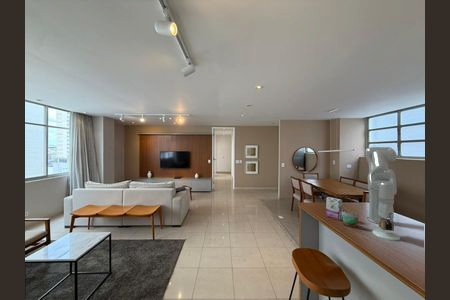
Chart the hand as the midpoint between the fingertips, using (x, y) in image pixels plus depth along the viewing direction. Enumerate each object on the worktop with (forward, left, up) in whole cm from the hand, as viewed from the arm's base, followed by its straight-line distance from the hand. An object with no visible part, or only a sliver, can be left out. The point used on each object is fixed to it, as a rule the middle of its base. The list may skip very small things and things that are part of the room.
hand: (386, 227), depth 127 cm
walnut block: (0, 0, -1) cm, 1 cm away
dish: (0, 0, -6) cm, 6 cm away
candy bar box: (-26, -25, -6) cm, 37 cm away
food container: (-11, -19, -6) cm, 23 cm away
